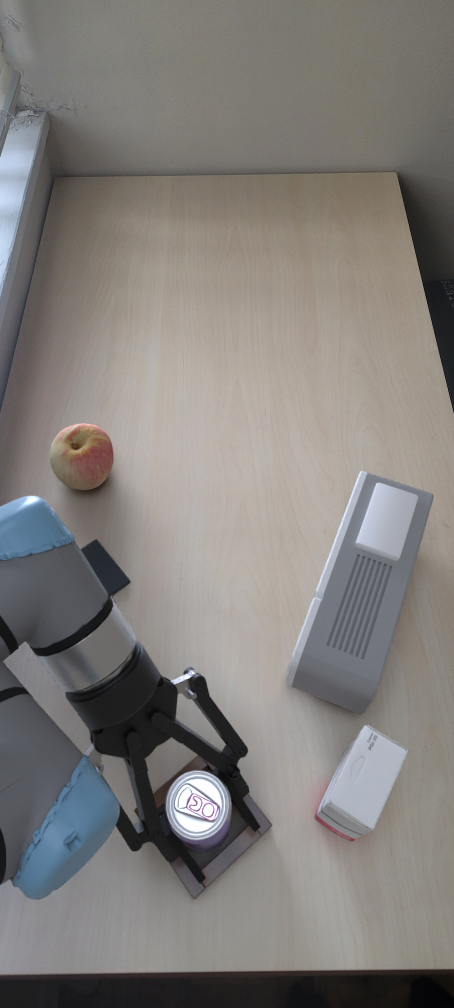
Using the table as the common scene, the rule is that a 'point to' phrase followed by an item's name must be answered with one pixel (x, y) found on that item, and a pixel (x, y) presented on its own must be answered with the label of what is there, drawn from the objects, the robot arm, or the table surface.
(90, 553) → the coaster
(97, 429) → the apple
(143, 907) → the table surface
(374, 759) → the ink box
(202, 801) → the beverage can
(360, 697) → the alarm clock
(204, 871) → the holder
